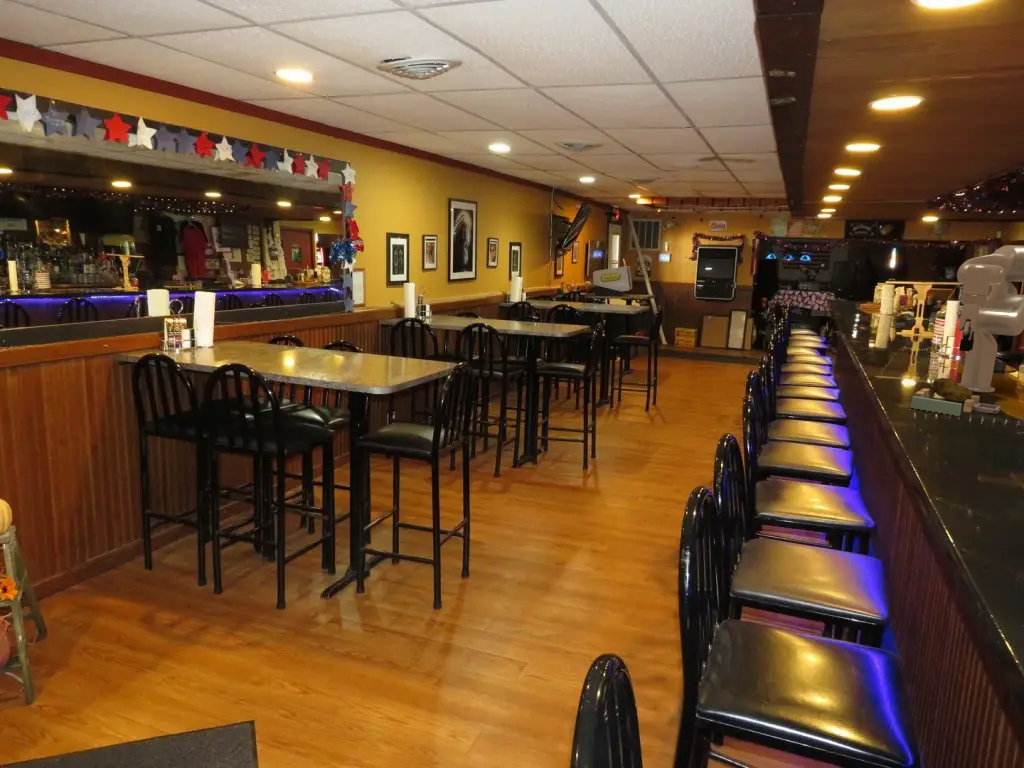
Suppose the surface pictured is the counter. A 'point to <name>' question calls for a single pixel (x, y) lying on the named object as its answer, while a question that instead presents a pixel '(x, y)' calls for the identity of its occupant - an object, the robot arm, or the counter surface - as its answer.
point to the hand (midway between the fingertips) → (965, 349)
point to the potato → (951, 390)
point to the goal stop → (936, 405)
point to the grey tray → (986, 408)
